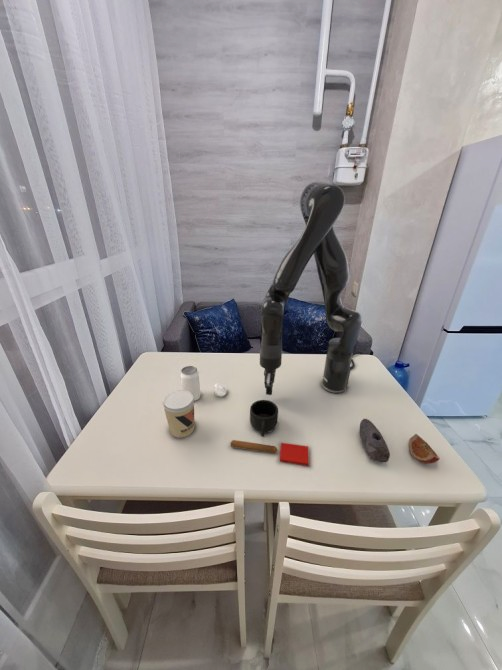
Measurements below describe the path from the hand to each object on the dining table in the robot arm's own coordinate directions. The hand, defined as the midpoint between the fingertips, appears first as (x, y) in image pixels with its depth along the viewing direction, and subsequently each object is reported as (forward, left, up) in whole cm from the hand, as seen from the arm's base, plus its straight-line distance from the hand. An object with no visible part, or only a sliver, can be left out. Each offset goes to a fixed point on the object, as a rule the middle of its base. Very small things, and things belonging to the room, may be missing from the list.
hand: (269, 393), depth 97 cm
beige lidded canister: (+32, -2, -3) cm, 33 cm away
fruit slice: (-25, +43, -3) cm, 50 cm away
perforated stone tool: (-15, +33, -3) cm, 36 cm away
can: (+24, -16, -3) cm, 29 cm away
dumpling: (+14, -12, -3) cm, 19 cm away
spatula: (+13, +19, -3) cm, 23 cm away
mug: (+9, +11, -3) cm, 15 cm away
